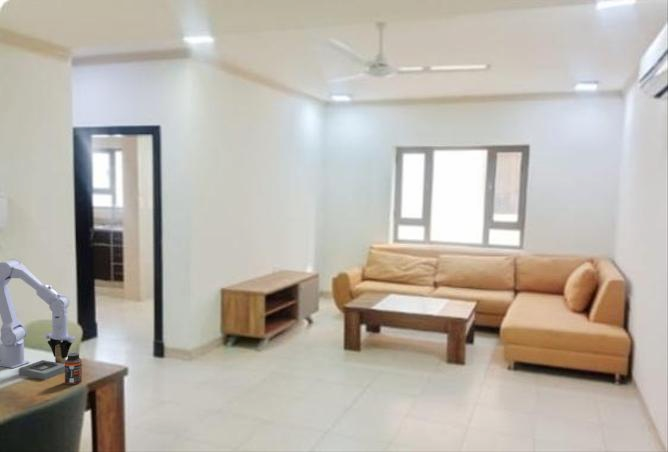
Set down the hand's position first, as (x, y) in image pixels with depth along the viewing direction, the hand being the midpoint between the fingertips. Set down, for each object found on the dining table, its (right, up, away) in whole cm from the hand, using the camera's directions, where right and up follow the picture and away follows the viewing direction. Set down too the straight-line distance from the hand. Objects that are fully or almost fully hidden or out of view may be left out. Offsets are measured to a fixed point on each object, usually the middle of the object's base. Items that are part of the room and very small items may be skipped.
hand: (60, 356), depth 226 cm
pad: (-2, -3, -10) cm, 10 cm away
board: (-2, -4, -10) cm, 11 cm away
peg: (0, -3, 0) cm, 3 cm away
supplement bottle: (+15, -5, -19) cm, 25 cm away
